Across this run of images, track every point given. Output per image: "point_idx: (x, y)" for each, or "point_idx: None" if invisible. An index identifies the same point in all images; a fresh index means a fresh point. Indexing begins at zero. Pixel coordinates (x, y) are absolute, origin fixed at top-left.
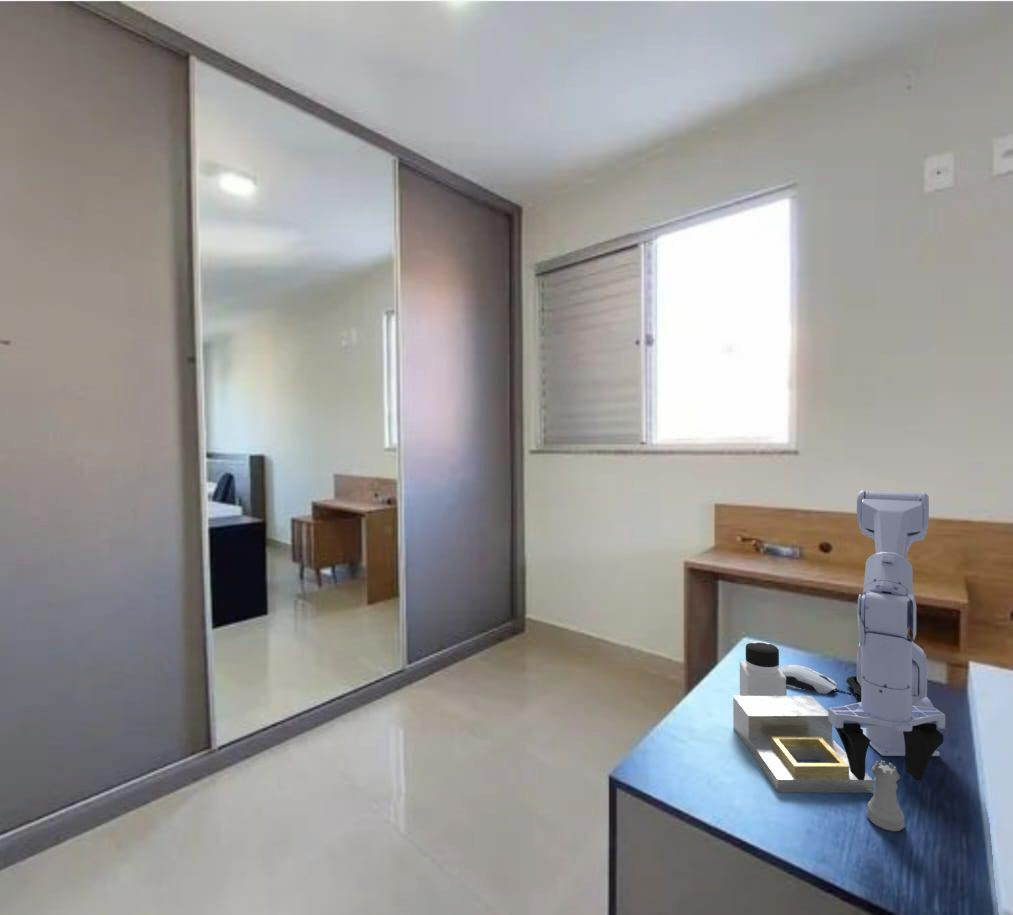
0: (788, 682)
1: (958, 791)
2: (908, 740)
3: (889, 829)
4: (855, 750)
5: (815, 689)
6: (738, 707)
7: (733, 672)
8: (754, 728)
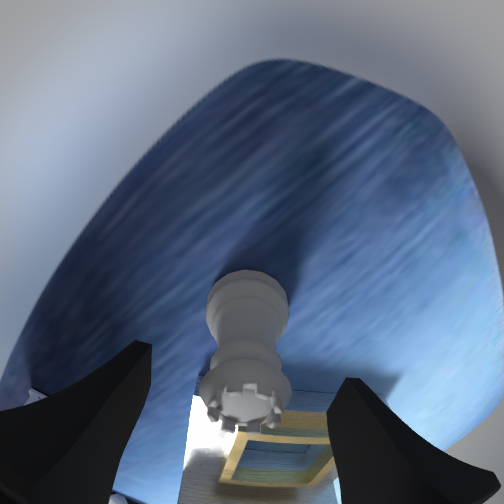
0: None
1: (40, 328)
2: (108, 476)
3: (269, 276)
4: (446, 454)
5: (126, 501)
6: None
7: None
8: (326, 496)
